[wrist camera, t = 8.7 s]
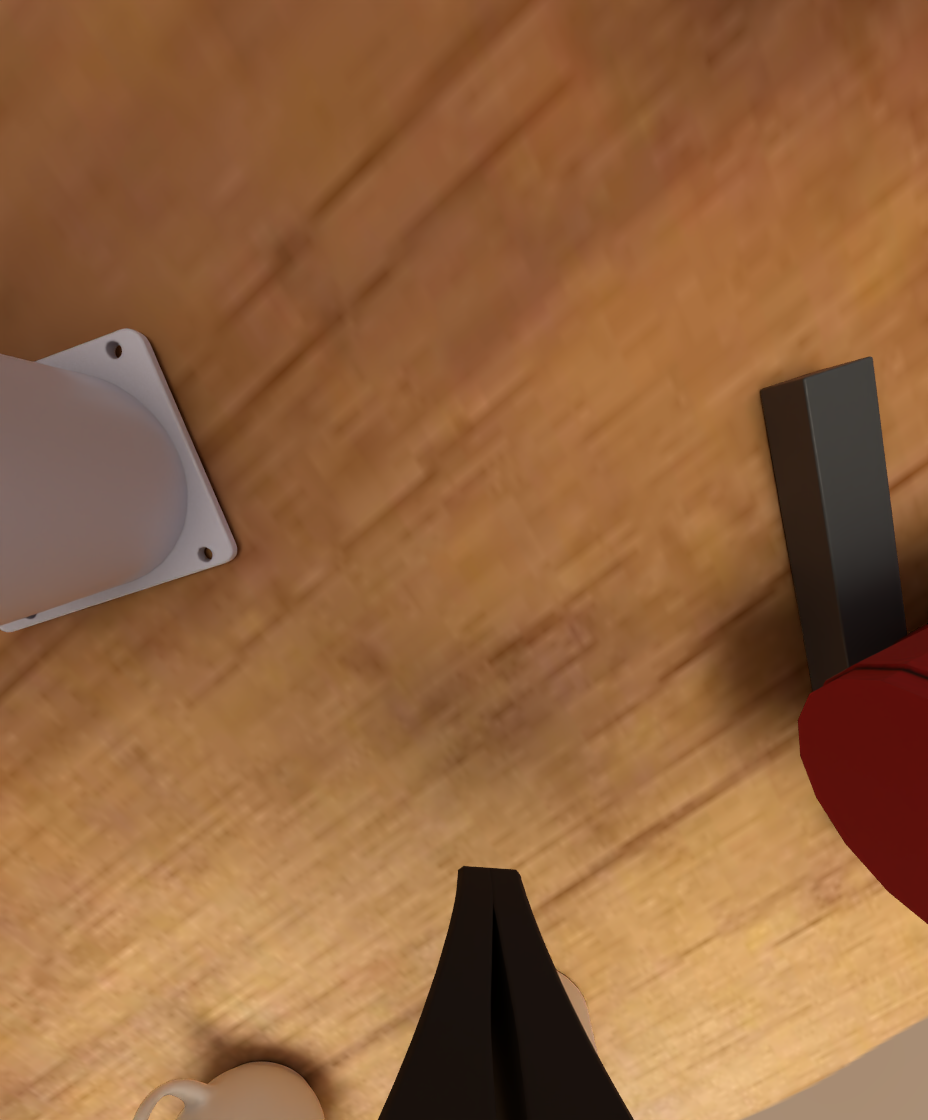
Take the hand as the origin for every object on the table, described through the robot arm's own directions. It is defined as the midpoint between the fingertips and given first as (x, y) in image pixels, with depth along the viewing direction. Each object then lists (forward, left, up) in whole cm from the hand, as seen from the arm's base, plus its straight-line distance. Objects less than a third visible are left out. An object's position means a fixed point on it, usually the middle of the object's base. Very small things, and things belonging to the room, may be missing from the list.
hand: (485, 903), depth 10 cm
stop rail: (+14, 0, -7) cm, 15 cm away
